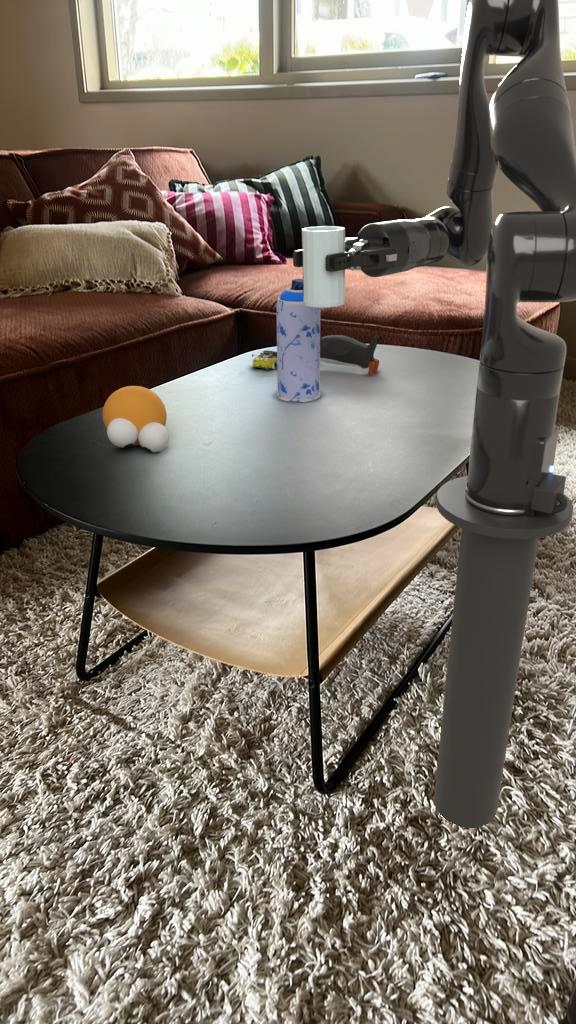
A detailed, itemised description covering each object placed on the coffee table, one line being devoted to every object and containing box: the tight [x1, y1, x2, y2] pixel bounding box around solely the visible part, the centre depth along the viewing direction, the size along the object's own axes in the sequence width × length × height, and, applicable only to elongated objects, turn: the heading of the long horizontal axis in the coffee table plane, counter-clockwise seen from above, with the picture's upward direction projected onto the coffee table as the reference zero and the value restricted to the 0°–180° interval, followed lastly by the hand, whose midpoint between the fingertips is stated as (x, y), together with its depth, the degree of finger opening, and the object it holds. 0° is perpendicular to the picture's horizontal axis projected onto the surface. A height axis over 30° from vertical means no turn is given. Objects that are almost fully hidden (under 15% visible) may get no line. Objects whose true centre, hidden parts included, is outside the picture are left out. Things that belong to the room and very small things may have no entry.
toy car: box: [251, 350, 277, 371], centre depth 155 cm, size 5×10×3 cm, turn 155°
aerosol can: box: [275, 278, 322, 403], centre depth 132 cm, size 8×8×20 cm
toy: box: [102, 385, 170, 453], centre depth 114 cm, size 9×10×15 cm
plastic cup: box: [301, 225, 346, 309], centre depth 106 cm, size 6×6×10 cm
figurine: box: [320, 334, 380, 376], centre depth 150 cm, size 7×10×15 cm
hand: (311, 261), depth 104 cm, fingers closed on plastic cup, 6 cm apart
